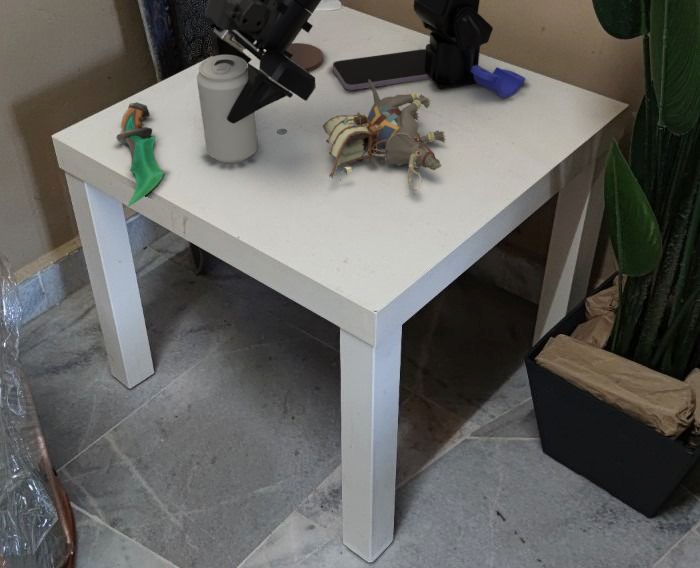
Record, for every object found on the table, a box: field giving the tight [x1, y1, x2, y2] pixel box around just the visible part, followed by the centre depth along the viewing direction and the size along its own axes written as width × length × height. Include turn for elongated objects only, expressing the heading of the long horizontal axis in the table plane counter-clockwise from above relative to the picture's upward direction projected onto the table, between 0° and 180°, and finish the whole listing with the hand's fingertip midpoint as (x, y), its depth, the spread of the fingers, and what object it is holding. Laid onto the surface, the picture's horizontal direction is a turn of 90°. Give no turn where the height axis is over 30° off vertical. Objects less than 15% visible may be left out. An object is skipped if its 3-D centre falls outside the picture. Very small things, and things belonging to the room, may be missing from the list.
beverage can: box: [196, 55, 259, 164], centre depth 111 cm, size 6×6×12 cm
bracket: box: [471, 64, 526, 99], centre depth 124 cm, size 9×5×3 cm, turn 129°
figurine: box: [322, 79, 447, 194], centre depth 112 cm, size 20×6×17 cm
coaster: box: [287, 42, 324, 72], centre depth 132 cm, size 8×8×1 cm
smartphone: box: [332, 48, 430, 91], centre depth 129 cm, size 7×1×15 cm
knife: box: [116, 102, 165, 208], centre depth 113 cm, size 21×2×5 cm
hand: (217, 109), depth 110 cm, fingers closed on beverage can, 6 cm apart
